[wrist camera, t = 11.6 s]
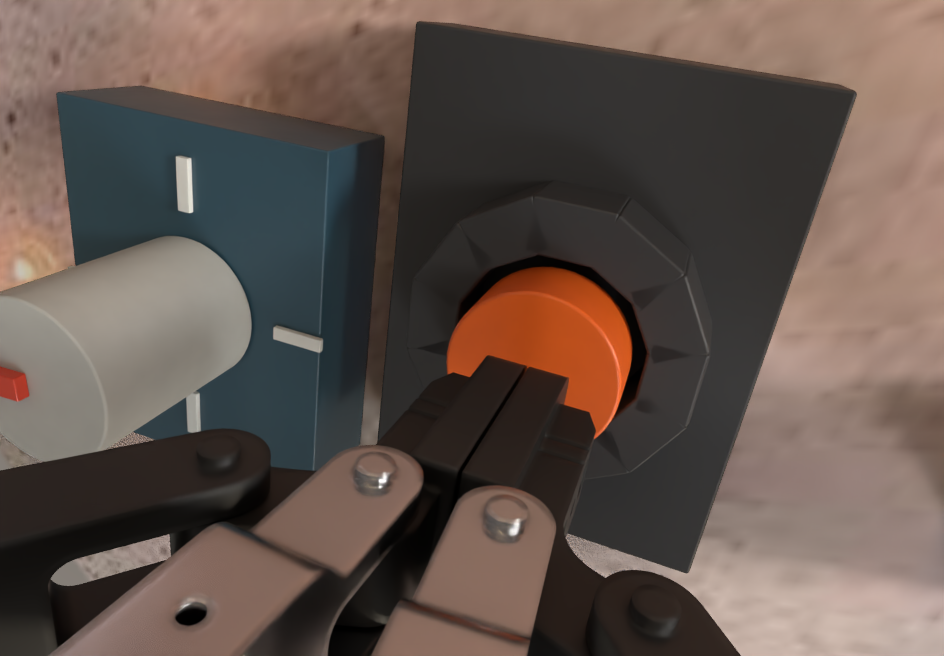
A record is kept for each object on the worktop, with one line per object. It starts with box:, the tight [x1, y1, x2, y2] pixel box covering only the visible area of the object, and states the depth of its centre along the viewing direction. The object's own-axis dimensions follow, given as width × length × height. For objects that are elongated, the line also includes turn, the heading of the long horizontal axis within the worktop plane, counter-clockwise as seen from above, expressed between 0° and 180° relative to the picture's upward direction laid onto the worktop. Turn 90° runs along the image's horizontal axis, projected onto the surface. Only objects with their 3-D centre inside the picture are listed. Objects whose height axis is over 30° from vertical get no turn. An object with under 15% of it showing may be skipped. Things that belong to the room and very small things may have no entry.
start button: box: [446, 267, 633, 439], centre depth 15 cm, size 4×4×2 cm
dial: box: [0, 236, 252, 462], centre depth 17 cm, size 4×4×5 cm
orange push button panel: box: [377, 21, 857, 573], centre depth 17 cm, size 12×9×4 cm
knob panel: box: [56, 86, 384, 471], centre depth 20 cm, size 10×8×3 cm
